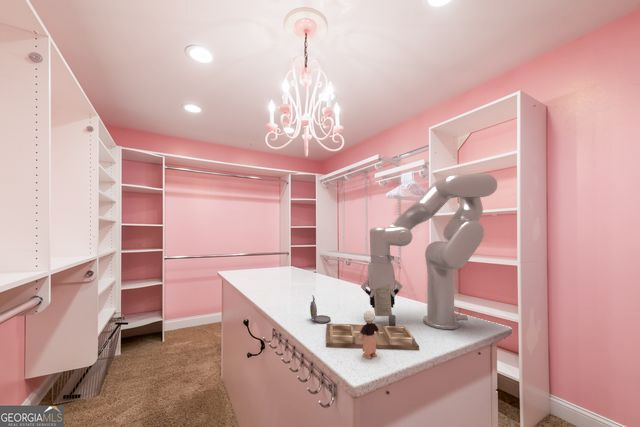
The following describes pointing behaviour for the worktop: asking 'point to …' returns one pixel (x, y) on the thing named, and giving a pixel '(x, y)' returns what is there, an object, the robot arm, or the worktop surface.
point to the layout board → (388, 336)
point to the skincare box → (382, 301)
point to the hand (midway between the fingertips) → (382, 306)
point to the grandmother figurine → (369, 335)
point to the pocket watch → (314, 314)
